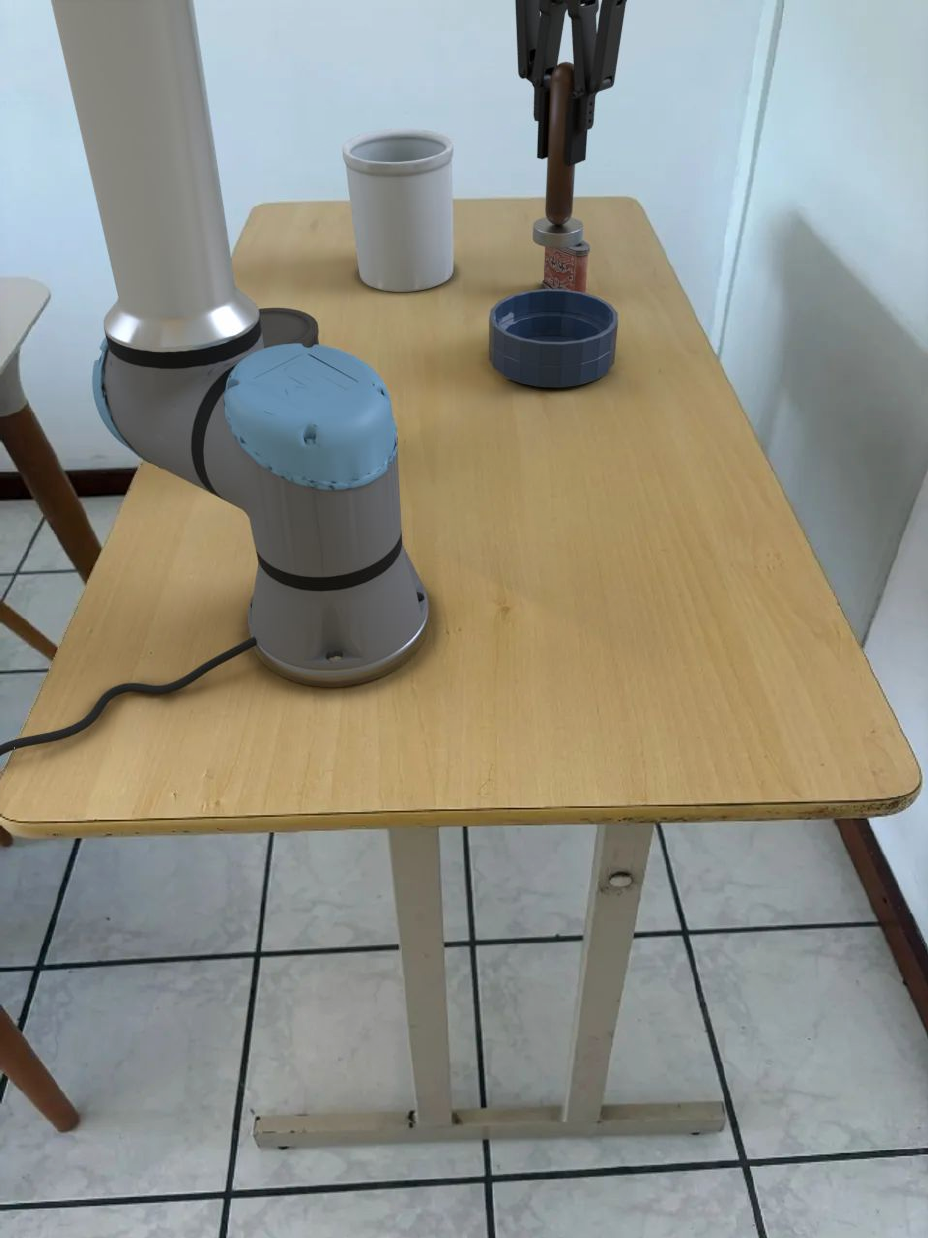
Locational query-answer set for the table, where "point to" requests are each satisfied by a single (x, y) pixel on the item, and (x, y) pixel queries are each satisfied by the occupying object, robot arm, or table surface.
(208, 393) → the robot arm
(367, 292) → the table surface
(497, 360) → the bowl
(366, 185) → the utensil holder
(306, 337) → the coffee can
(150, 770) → the table surface
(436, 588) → the table surface
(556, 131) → the brown stamp
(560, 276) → the lighter
